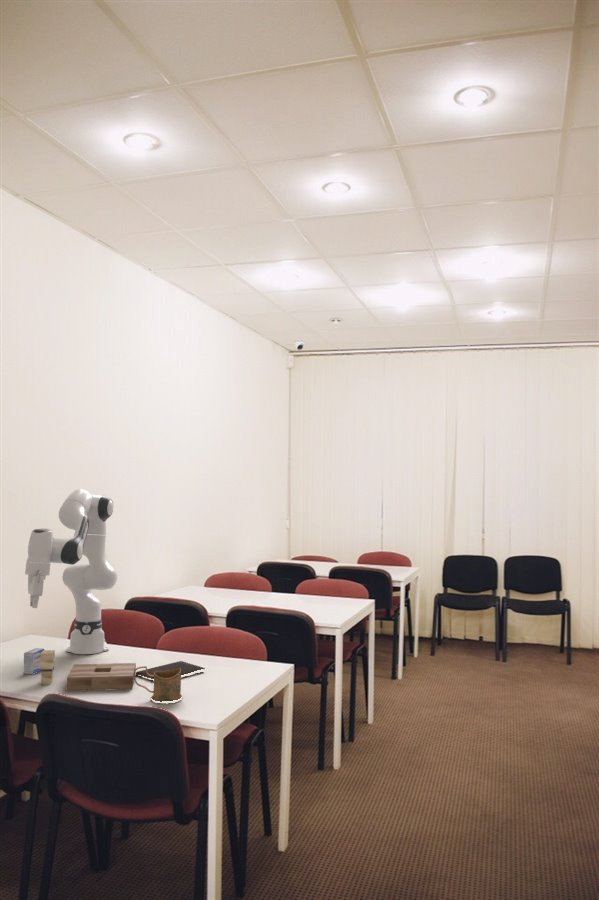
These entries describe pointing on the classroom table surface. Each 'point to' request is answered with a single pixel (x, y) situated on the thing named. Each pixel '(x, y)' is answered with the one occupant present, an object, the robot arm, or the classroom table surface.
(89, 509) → the robot arm
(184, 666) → the hardcover book
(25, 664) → the medicine box
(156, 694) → the mug
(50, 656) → the peg
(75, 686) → the board
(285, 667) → the classroom table surface
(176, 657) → the classroom table surface
